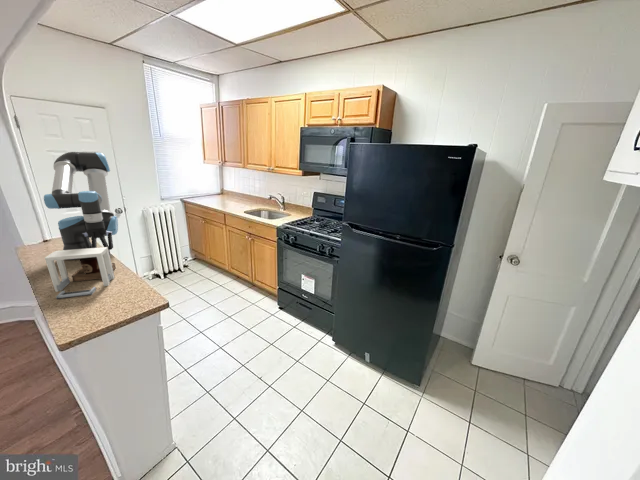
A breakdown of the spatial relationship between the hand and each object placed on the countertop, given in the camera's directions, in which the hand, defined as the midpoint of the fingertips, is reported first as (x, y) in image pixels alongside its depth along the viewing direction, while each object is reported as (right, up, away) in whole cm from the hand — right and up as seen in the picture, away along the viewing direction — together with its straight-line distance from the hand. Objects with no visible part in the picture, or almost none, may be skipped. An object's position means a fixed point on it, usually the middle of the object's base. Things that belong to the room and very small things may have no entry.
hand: (103, 261), depth 144 cm
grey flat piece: (+12, -12, -29) cm, 34 cm away
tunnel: (+9, -9, -20) cm, 24 cm away
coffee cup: (+6, -7, -12) cm, 15 cm away
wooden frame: (+3, -4, -7) cm, 9 cm away
